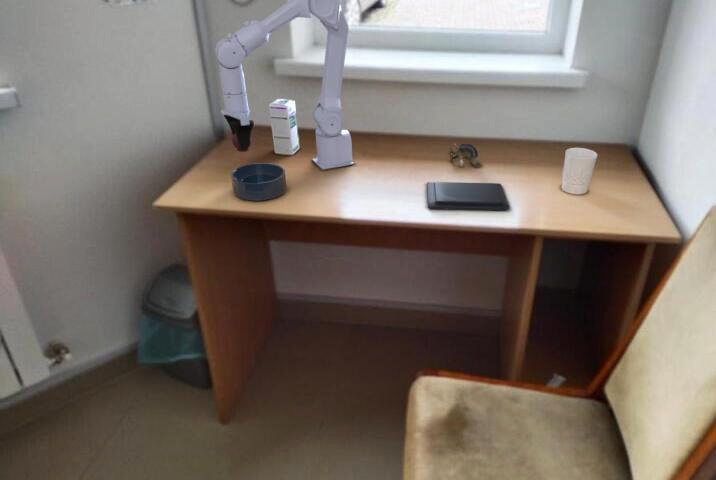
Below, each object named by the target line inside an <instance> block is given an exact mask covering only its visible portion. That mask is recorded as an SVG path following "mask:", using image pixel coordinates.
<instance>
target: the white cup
mask: <svg viewBox="0 0 716 480" xmlns="http://www.w3.org/2000/svg"><path fill="white" fill-rule="evenodd" d="M598 156H599V155H598V153H597V152H596V151H594V150H592V149H590V148H585V147H570V148H567V149H566V150H565V154H564V162H563V167H562V176H561V190H562V191H563V192H565V193H568V194H572V195H584V194H586V193H587V192H588V191H589V187H590V182H591V180H592V177H593V174H594V171H595V167H596V163H597V160H598Z"/></svg>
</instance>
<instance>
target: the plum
mask: <svg viewBox="0 0 716 480" xmlns="http://www.w3.org/2000/svg"><path fill="white" fill-rule="evenodd" d="M231 143H232V146H234V147H235V148H236V151H237V152H240V153H243V152H248V151H249V150H250V147H251V145H252V137H250V145H249V148H243V149H241V147H240V145H239V142H238V139H237V136H236V133H235V134H234V135H233V134H232V137H231Z"/></svg>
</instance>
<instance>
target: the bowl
mask: <svg viewBox="0 0 716 480" xmlns="http://www.w3.org/2000/svg"><path fill="white" fill-rule="evenodd" d="M286 177H287V176H286V170H285V169H284V167H283V166H280V165H278V164H275V163H269V162H254V163H248V164H244V165H241V166H238V167H237V168H235V169H233V170H232V171H231V172H230V180H231V186H232V191H233V194H234V195H235V197H238V198H240V199H242V200H245V201H266V200H271V199H275V198H277V197H280V196H281V195H283V194H285V192H286V191H287V189H288V188H287V187H288V185H287V178H286Z"/></svg>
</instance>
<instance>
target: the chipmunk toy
mask: <svg viewBox="0 0 716 480" xmlns="http://www.w3.org/2000/svg"><path fill="white" fill-rule="evenodd" d="M453 145H454V146H455V149H456V151H454V149H453V148H452V147H449V149H447V150H446V154H448V155H449V158H450V163H452V162H453V161H454V160H457V159H458V161H459V164H460V168H462V167H463V165H464V160H467V161H468V162H470V163H471V164H472V165H473V166H474V167H475V168H481V167H482V165H481V163H480V162H479V161H478V159H477V158H478V157H479V152H478V150H477V148H476V147H475V146H474V145H472V144H471V143H462V144H460V145H459V146H457V144H456V143H453Z"/></svg>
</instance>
